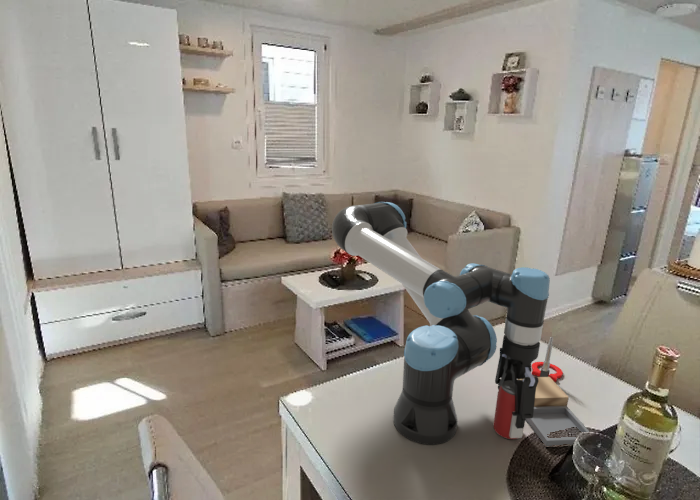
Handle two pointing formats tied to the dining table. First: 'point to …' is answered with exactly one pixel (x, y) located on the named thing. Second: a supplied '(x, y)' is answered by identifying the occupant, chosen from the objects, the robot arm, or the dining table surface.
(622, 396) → the dining table surface
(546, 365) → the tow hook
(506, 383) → the beer can
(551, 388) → the block
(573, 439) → the charcoal tray
